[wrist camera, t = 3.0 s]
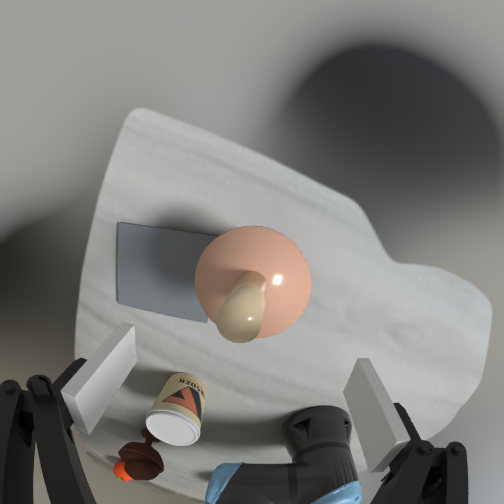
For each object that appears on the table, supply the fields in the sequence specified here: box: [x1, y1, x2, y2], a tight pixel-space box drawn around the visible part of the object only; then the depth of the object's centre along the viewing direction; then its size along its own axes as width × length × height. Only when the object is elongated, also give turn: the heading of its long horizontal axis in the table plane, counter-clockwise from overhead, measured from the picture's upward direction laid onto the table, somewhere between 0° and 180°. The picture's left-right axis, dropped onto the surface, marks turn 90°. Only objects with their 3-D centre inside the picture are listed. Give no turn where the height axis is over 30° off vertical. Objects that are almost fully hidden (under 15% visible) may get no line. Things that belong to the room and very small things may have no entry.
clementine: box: [114, 462, 133, 481], centre depth 54 cm, size 8×7×7 cm
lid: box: [195, 226, 311, 343], centre depth 24 cm, size 12×12×10 cm
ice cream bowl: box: [118, 429, 164, 480], centre depth 44 cm, size 11×11×15 cm
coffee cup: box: [145, 373, 206, 446], centre depth 41 cm, size 9×9×12 cm
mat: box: [117, 222, 217, 323], centre depth 41 cm, size 16×14×1 cm
